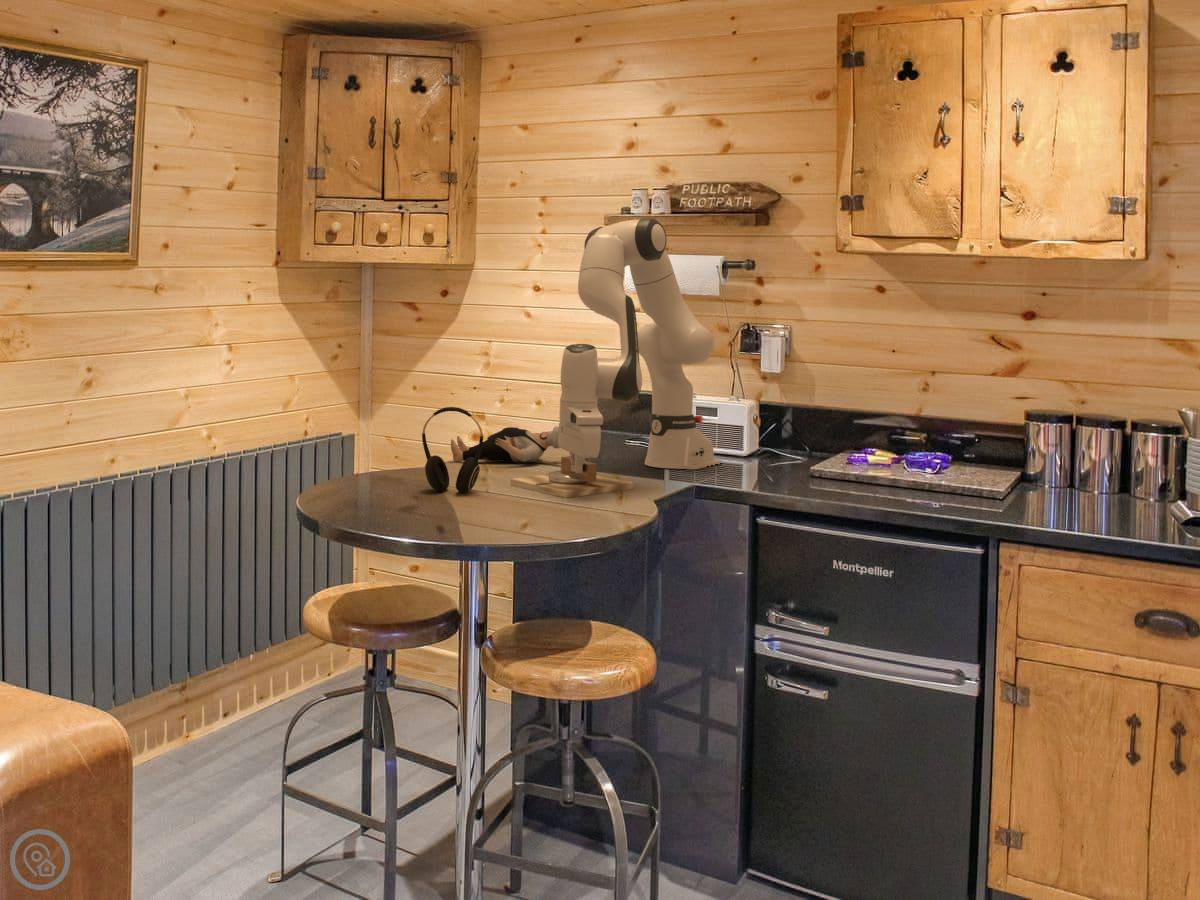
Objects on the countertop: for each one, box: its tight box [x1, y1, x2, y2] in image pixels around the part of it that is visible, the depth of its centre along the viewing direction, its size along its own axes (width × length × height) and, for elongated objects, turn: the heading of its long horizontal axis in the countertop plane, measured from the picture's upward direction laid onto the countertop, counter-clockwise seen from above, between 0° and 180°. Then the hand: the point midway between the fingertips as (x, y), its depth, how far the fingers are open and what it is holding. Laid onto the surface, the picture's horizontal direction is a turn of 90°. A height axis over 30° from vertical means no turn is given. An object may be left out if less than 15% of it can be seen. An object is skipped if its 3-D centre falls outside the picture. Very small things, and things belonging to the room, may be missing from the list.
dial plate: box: [509, 473, 633, 499], centre depth 272 cm, size 21×21×2 cm
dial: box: [548, 455, 598, 483], centre depth 270 cm, size 16×11×5 cm
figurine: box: [450, 426, 560, 464], centre depth 309 cm, size 23×10×30 cm
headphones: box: [421, 406, 484, 494], centre depth 261 cm, size 9×15×20 cm, turn 80°
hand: (576, 472), depth 265 cm, fingers closed
